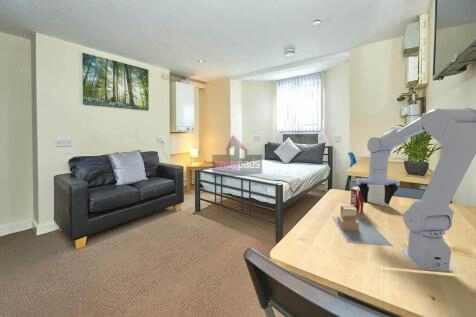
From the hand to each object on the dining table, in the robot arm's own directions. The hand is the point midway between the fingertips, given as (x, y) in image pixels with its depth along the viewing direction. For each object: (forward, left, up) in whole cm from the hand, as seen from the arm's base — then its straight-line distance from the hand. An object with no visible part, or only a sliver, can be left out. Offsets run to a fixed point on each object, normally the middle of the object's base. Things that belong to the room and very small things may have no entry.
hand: (375, 202), depth 81 cm
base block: (-1, +10, -10) cm, 14 cm away
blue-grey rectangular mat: (-3, +7, -10) cm, 13 cm away
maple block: (-1, +10, -7) cm, 12 cm away
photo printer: (+30, -14, -11) cm, 35 cm away
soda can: (+16, +1, -11) cm, 19 cm away
